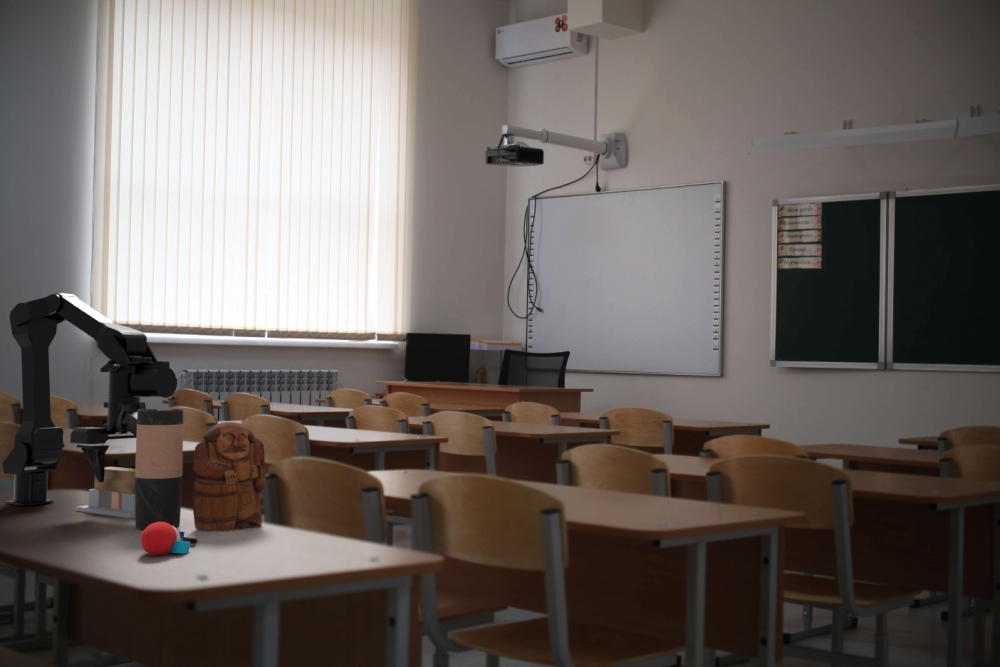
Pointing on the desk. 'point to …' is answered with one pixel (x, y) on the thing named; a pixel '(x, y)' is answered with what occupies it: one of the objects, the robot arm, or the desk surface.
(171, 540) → the toy figure
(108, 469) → the walnut bar
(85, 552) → the desk surface
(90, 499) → the pale grey flat fixture
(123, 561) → the desk surface
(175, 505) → the travel mug
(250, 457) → the wooden figurine
